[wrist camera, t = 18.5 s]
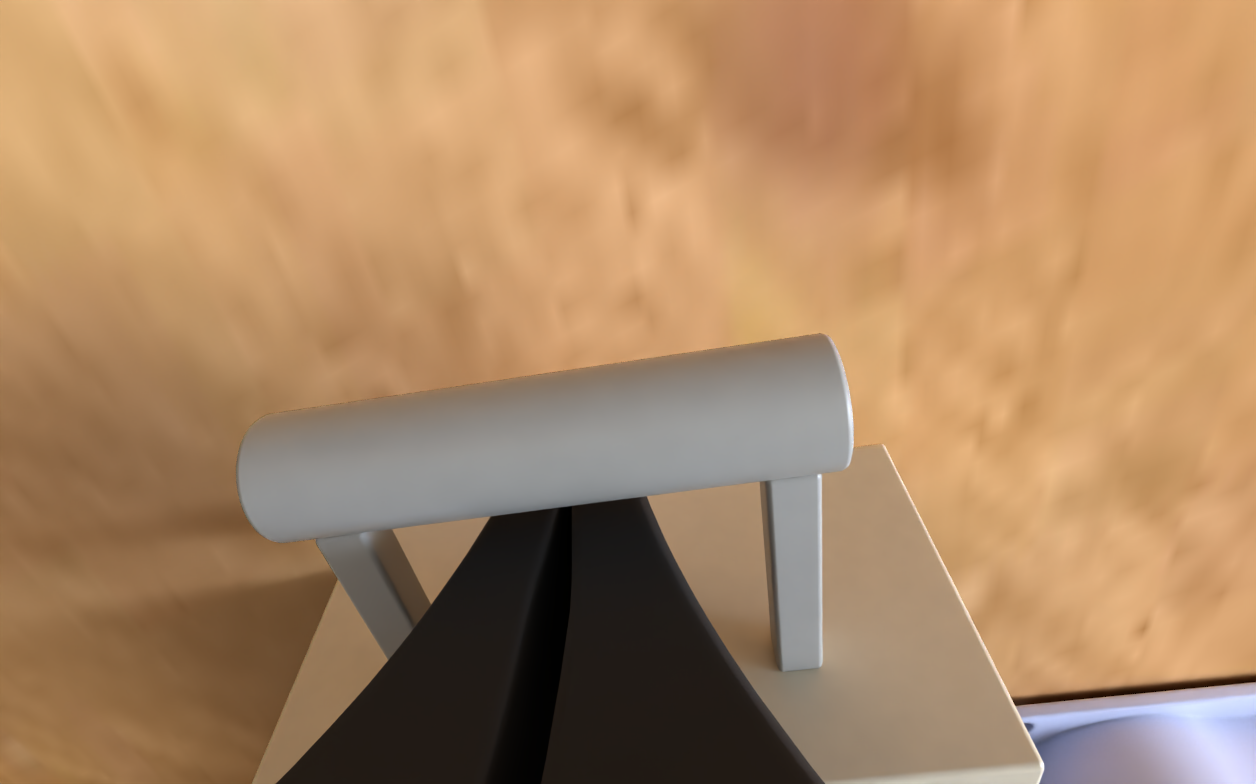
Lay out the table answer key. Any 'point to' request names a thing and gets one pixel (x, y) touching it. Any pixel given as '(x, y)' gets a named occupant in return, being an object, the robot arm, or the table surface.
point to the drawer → (692, 526)
